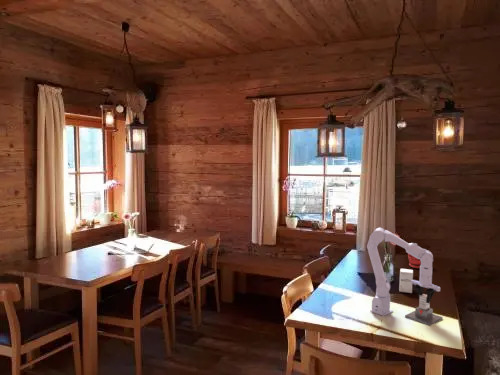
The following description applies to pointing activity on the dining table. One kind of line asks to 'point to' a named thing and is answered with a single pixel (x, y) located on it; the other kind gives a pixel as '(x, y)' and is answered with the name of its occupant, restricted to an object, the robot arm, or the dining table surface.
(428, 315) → the stand base
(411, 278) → the supplement box
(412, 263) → the plant pot
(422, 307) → the column
